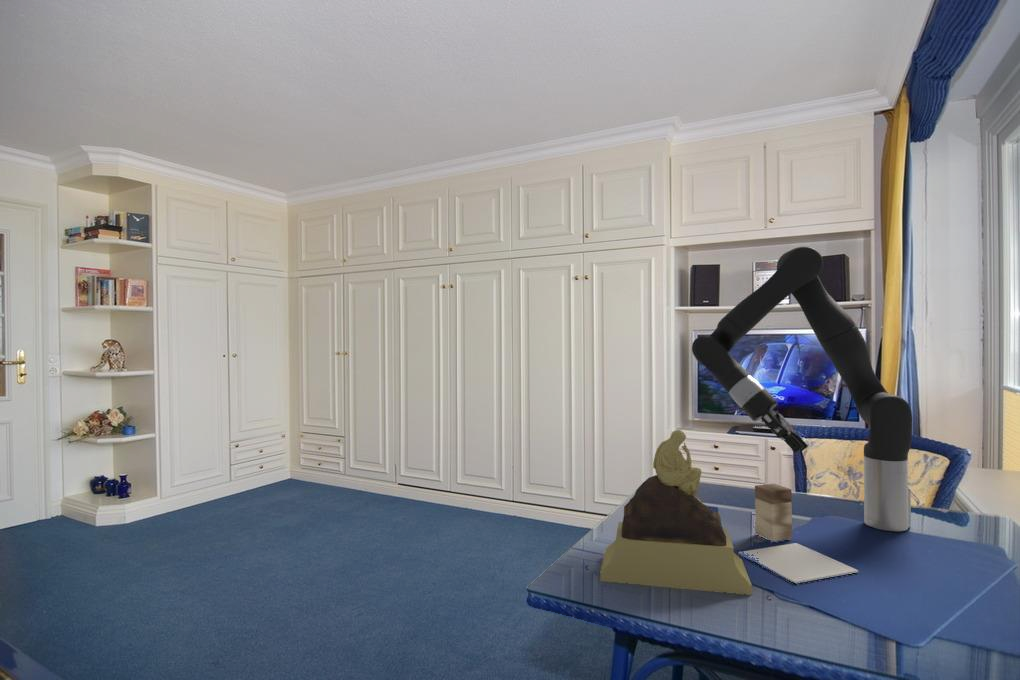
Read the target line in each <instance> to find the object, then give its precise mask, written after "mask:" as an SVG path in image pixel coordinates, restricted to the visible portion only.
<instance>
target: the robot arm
mask: <svg viewBox="0 0 1020 680" xmlns="http://www.w3.org/2000/svg"><path fill="white" fill-rule="evenodd" d="M823 266H824V259H823V257H822V255H821V253H820V252H819V251H818V250H817V249H816V248H814V247H810V246H798V247H795V248H792V249H791V250H788V251H786V252H785V253H783V254H782V255H781V256H780V257H779V259H778V261H777V265H776V270H775V272H774V273H773V274H772V275H771V276H770V278H768V279H767V280H766V281H765V282H764V283H763V284H762V285H761V286H759V287H758V288H756V290H755V291H753V292H752V293H750V294H749V295H748V296H747V297H745V298H744V299H742V300H741V301H740V302H739V303H737V304H736V306H734V307H733V308H732V309H731V310H729V312H728V313H726V314H725V316H724V317H723V318H721V319H720V321H719V322H718V323H717V326H716V328H715V329H714V331H713V332H712V333H711V334H710V335H708V334H705V335H704V334H703V335H700V336H698V337H696V338H695V340H693V343H692V345H691V352H692V354H693V356H694V359H696V361H697V362H698V363H699V364H700V365H702V366H704V368H706V369H707V371H709V372H710V373H711V374H712V375H713V377H714V378H715V380H716V381H717V382H718V384H719V385H720V386H721V387H722V388H723V389H724V390H725V391H726V392H727V393H728V394H729V395H730V396H731V397H730V398H732V400H733V401H734V402H735V404H737V406H739V407H740V409H742V411H743V412H744V413H745V414H746V415H747V416H748V417H749V418H750V419H751V420H752V421H753V422H757V421H759V420H761V422H763V423H764V424H765V426H766V427H767V428H769V429H770V431H772V433H773V434H775V436H776V437H777V438H779V439H780V440H782V441H784V442H785V443H786V445H788V447H789V448H790V449H791V450H792V451H793V452H794V453H798V452H799V451H800V452H803V451H804V450H806V449H807V448H808V446H809V445H808V444H807V443H806V441H804V439H802V438H801V437H800V435H798V433H797V430H796V428H794V427H793V426H792V424H791V423H790V422H789V421H788V420H786V418H785V417H784V416H783V414H781V413H776V412H775V411H774V408H776V406H778V405H779V404H778V403H779V402H778V400H777V399H776V398H775V396H773V395H772V394H771V393H770V392H769V391H768V390H767V389H766V388H765V386H763V384H761V383H760V382H759V381H758V380H757V379H756V378H755V377H753V376H752V375H751V374H750V373H749V372H748V371H747V370H746V369H745V368H744V367H743V366H742V365H741V364H740V363H739V362H738V361H737V360H735V359H734V358H733V356H732V355H731V354H730V353H729V352H730V351H731V350H732V349H733V348H734V346H735V345H736V343H738V342H739V341H740V340H741V339H742V338H744V337H745V336H746V335H747V334H748V333H750V331H751V330H753V328H755V326H756V325H758V324H759V323H760V322H761V321H762V320H763V319H764V318H766V316H767V315H768V314H770V312H771V311H773V309H774V308H776V307H777V306H778V305H779V304H780V303H781V302H782V301H784V300H785V299H786V298H788V296H790V295H792V296H793V298H794V299H795V300H796V302H797V303H798V305H799V306H800V308H801V310H802V312H803V314H804V316H805V318H806V320H807V322H808V324H809V325H810V328H811V329H812V331H813V333H814V334H815V337H816V338H817V340H818V342H819V344H820V346H821V347H822V349H823V351H824V352H825V354H826V356H827V357H828V359H829V360H830V362H831V363H832V365H833V368H835V370H836V372H837V373H838V375H839V376H840V377H841V379H842V381H843V382H844V383H845V385H846V388H847V389H848V392H849V394H850V396H851V398H852V400H853V402H854V403H853V404H854V406H855V407H856V410H857V412H858V414H859V417H860V418H861V419H862V421H863V422H864V423H865V424H867V425H868V426H869V440H868V442H867V443H865V444H864V446H863V512H864V513H863V519H864V521H863V523H864V524H865V525H866V526H868V527H871V528H874V529H877V530H880V531H888V532H904V531H908V529H909V528H911V527H912V515H911V513H912V510H911V509H912V503H911V502H912V501H911V500H912V499H911V496H912V495H911V492H912V491H911V488H909V465H908V464H909V463H908V462H909V460H908V459H909V458H908V457H909V451H910V449H911V448H912V436H913V435H912V433H913V412H912V409H911V406H910V404H909V403H908V401H907V400H905V399H904V398H903V397H900V396H898V395H895V394H890V393H889V392H888V390H886V388H885V387H884V385H883V384H882V383H881V381H880V380H879V379H878V377H877V375H876V374H875V371H874V369H873V366H872V362H871V358H870V353H869V349H868V345H867V343H866V340H865V338H864V336H863V334H862V332H861V331H860V329H859V327H858V326H857V324H856V323H855V321H854V319H853V318H852V317H851V316H850V315H849V313H848V312H847V311H846V310H845V309H844V307H842V306H841V305H840V304H839V303H838V302H837V301H836V300H834V298H833V297H832V296H831V295H830V294H829V293H828V291H827V290H826V288H825V287H824V285H823V283H822V281H821V279H820V277H819V275H820V274H821V272H822V270H823Z"/></svg>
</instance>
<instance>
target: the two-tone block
mask: <svg viewBox="0 0 1020 680" xmlns="http://www.w3.org/2000/svg"><path fill="white" fill-rule="evenodd" d="M792 503H793V502H792V489H791V488H789V487H786V486H783V485H780V484H776V483H768V484H758V485H757V484H756V485H754V510H755V511H754V514H755V515H754V516H755V518H754V519H755V520H754V521H755V523H754V524H755V528H754V529H755V530H754V532H755V533H756V534H758V535H761V536H763V537H765V538H767V539H769V540H772V541H778V540H787V539H792V540H793V524H792V523H793V522H792V521H793V520H792V519H793V518H792V516H793V515H792V514H793V512H792V511H793V510H792V507H793V506H792Z"/></svg>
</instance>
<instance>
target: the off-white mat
mask: <svg viewBox="0 0 1020 680" xmlns="http://www.w3.org/2000/svg"><path fill="white" fill-rule="evenodd" d="M742 551H743V550H742ZM742 551H738V554H739V553H741V554H742ZM743 552H744V554H746V555H747V553H748V554H749V555H750V556H748V557H750V558H752V557H753V558H755V560H759V561H758V562H759V563H760V564H763V565H764V566H766V567H768V568H769V569H771V570H773V571H775V572H776V573H778V574H779V575H781V576H783V577H785V578H786V579H788V580H790V581H791V582H794V583H800V582H807V581H812V580H817V579H823V578H829V577H834V576H839V575H845V574H852V573H857V572H858V573H859V570H858V569H856V568H854V567H852V566H849V565H847V564H845V563H843V562H841V561H838V560H836V559H833V558H831V557H829V556H827V555H825V554H822V553H820V552H818V551H816V550H813V549H811V548H809V547H807V546H804V545H802V544H800V543H797V542H794V543H787V544H781V545H775V546H769V547H763V548H756V549H749V550H744V551H743ZM757 552H758V553H757ZM752 554H753V555H754V556H751V555H752ZM756 558H759V559H756ZM756 562H757V561H756ZM858 573H857V574H858ZM852 575H853V574H852ZM791 582H790V583H791Z"/></svg>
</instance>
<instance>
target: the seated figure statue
mask: <svg viewBox="0 0 1020 680" xmlns="http://www.w3.org/2000/svg"><path fill="white" fill-rule="evenodd" d="M686 439H687V435H686V433H685V432H684V431H683V430H680V429H676V430H674V431H672V432H671V434H670V437H669V438H668V439H666V440H664V441H662V442H660V444H659V445H658V447H657V448H656V451H655V454H654V457H653V458H654V459H653V462H652V463H653V464H652V466H653V467H652V468H653V469H654V470H655V473H656V474H655V475H652V476H650V477H648V478H647V479H645V481H643V482H642V484H640V485H639V487H637V489H636V490H635V492H634V494H633V496H632V497H631V498H630V499H629V501H628V502H627V503H626V504H625V505H624V506H623V519H622V521H619V522H618V525H617V531H616V536H615V540H614V542H613V543H611V544H610V545H609V546H607V547H605V548H604V554H603V558H602V562H601V566H600V571H599V573H600V579H599V580H600V582H603V583H604V582H606V583H614V582H618V583H617V584H625V583H628V585H636V584H638V586H646V587H647V586H648V587H659V588H668V589H669V588H672V589H682V590H691V591H703V592H704V591H705V592H712V591H713V592H715V593H723V592H726V593H725V594H734V593H736V595H744V594H746V595H747V596H753V585H752V582H751V580H750V577H749V575H748V571H747V569H746V566H745V564H744V562H743V558H740V557H739V555H738V554H736V553H735V552H734V546H733V543H732V540H731V538H730V535H729V532H728V529H727V528H723V525H722V519H721V516H720V513H718V512H717V511H714V510H713V509H712V508H710V507H708V506H707V505H706V504H704V503H703V500H701V499H700V498H698V497H697V492H699V490H700V488H699V487H700V486H699V485H700V484H701V483H700V482H701V476H702V473H703V471H702V469H701V468H699V467H695V466H692V458H691V453H690V449H689V448H688V447H687V445H686V442H685V440H686ZM682 444H683V445H682ZM680 447H681V448H682V451H683V452H684V453H686V459H685V457H684V454H683V453H682V451H681V450H680ZM639 584H640V585H639ZM713 592H712V593H713Z"/></svg>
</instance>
